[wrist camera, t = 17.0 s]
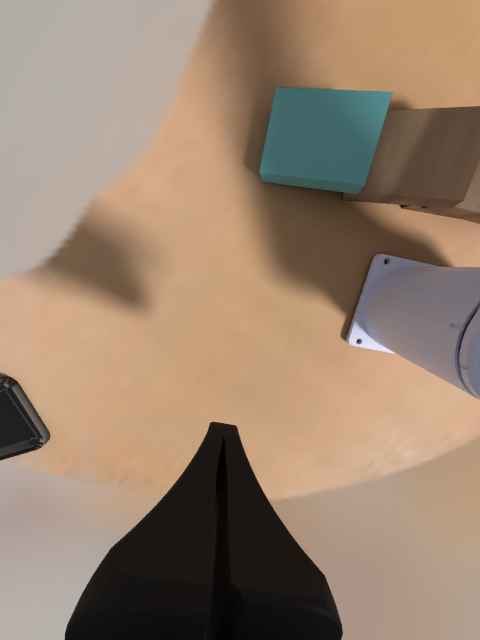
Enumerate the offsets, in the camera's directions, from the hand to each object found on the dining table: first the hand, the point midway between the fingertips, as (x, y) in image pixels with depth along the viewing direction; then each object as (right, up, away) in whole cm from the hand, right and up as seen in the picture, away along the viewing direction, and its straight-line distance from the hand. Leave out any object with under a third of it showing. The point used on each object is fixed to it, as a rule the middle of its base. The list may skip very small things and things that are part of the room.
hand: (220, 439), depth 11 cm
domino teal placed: (+3, +19, +4) cm, 20 cm away
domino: (+9, +18, +5) cm, 21 cm away
